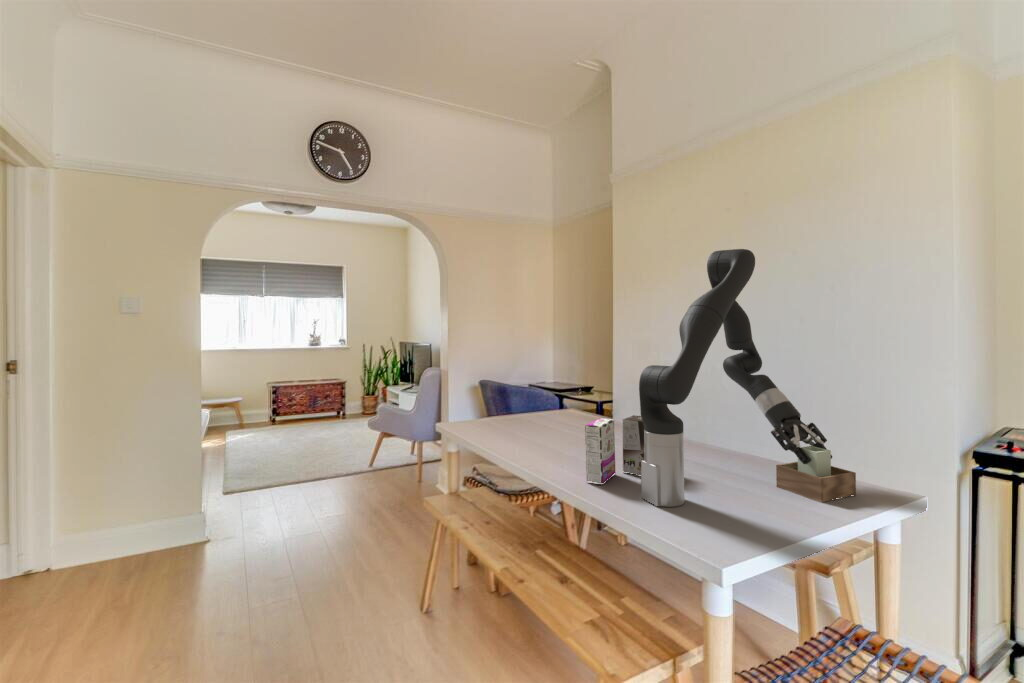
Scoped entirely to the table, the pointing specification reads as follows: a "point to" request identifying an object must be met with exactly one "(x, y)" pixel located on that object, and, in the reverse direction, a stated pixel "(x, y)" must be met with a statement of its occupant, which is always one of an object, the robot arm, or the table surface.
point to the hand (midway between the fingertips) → (818, 461)
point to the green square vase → (816, 462)
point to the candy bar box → (600, 450)
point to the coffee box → (633, 444)
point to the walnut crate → (816, 482)
